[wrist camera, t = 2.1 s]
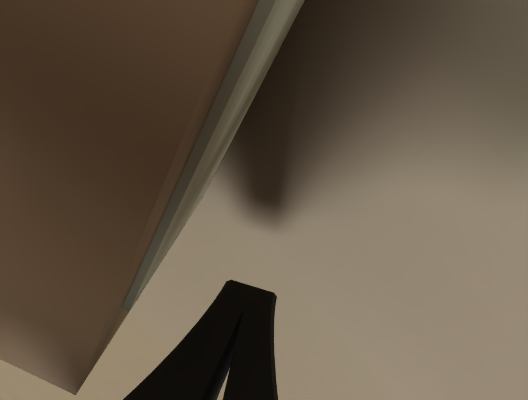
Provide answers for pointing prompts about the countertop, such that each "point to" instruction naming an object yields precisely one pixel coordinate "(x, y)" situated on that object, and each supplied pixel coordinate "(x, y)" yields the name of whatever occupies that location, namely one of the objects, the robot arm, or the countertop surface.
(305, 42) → the countertop surface
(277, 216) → the countertop surface
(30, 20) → the picture frame
